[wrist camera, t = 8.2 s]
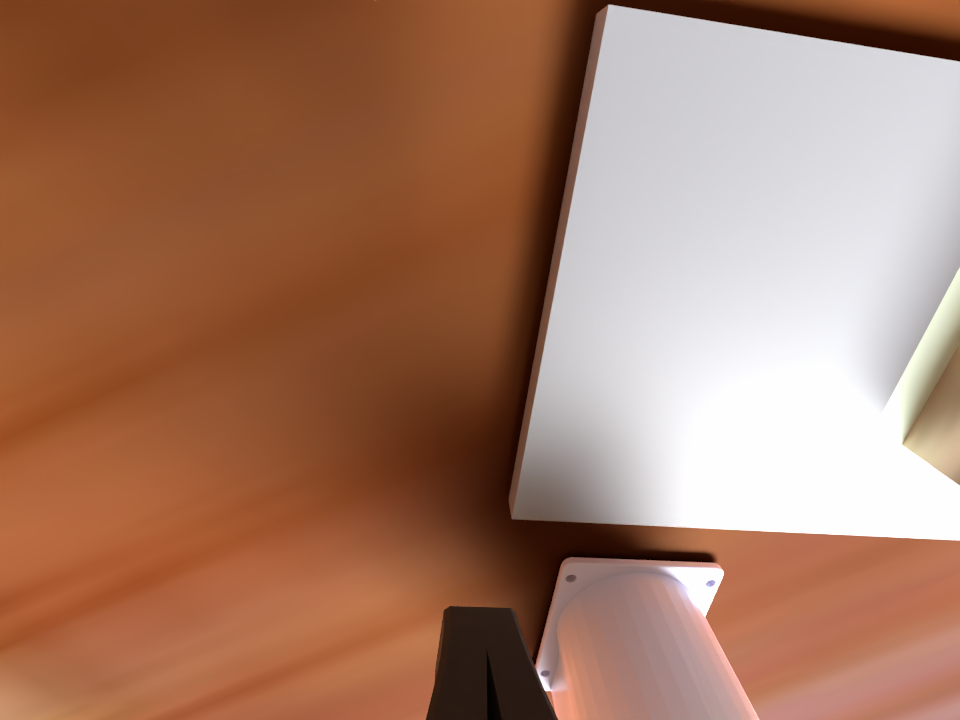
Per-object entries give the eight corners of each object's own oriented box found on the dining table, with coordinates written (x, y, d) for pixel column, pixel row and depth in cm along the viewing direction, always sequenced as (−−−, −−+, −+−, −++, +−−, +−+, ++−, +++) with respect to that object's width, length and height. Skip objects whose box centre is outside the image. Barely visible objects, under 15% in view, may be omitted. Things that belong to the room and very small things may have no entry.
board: (1058, 528, 25) (1085, 546, 24) (508, 499, 22) (511, 519, 21) (1367, 137, 17) (1429, 138, 16) (596, 13, 14) (608, 4, 13)
